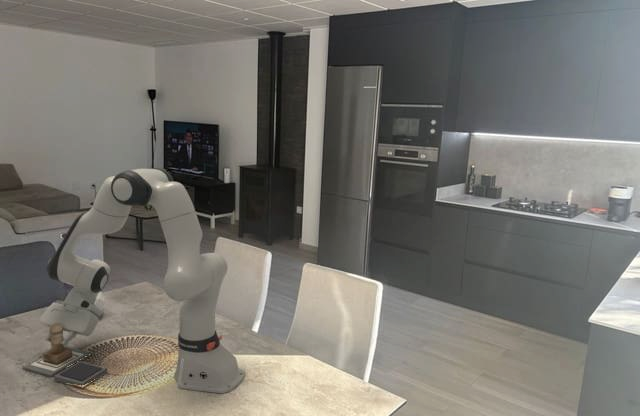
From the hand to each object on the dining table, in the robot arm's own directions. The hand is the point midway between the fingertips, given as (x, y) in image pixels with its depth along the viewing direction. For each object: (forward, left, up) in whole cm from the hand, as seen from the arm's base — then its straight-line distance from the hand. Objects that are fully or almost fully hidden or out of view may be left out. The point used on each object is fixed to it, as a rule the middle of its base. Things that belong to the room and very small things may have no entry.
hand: (55, 342), depth 154 cm
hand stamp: (0, -1, -6) cm, 6 cm away
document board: (0, -1, -7) cm, 7 cm away
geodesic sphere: (+19, -32, -7) cm, 38 cm away
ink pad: (-14, +3, -7) cm, 16 cm away
